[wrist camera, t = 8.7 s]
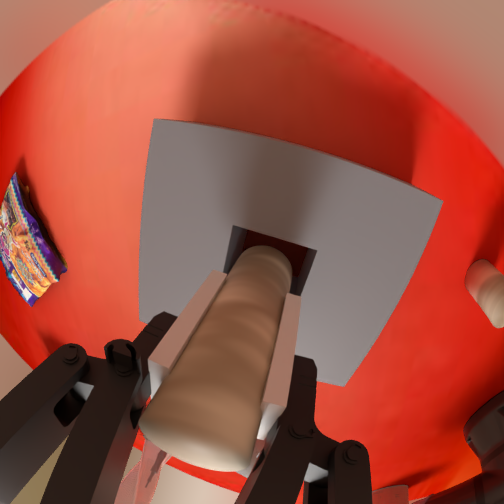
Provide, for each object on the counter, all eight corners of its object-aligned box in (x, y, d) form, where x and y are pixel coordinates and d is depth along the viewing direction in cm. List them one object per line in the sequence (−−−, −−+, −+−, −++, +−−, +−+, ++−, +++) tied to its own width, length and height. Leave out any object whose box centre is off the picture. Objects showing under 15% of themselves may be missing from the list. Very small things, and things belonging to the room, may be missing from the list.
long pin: (299, 255, 16) (264, 446, 6) (283, 302, 18) (238, 478, 7) (242, 238, 17) (132, 398, 6) (231, 286, 18) (143, 444, 7)
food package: (87, 283, 31) (66, 299, 27) (34, 315, 40) (20, 326, 36) (26, 145, 25) (2, 151, 21) (-12, 221, 34) (-27, 228, 30)
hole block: (411, 184, 18) (443, 201, 13) (341, 341, 25) (343, 386, 20) (193, 121, 20) (154, 118, 15) (169, 286, 27) (139, 320, 21)
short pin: (496, 264, 18) (527, 295, 13) (480, 295, 20) (506, 330, 14) (475, 254, 19) (507, 285, 13) (458, 287, 20) (485, 324, 15)
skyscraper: (182, 458, 48) (139, 548, 23) (153, 449, 50) (109, 532, 25) (169, 442, 45) (119, 541, 20) (139, 432, 47) (87, 522, 22)
